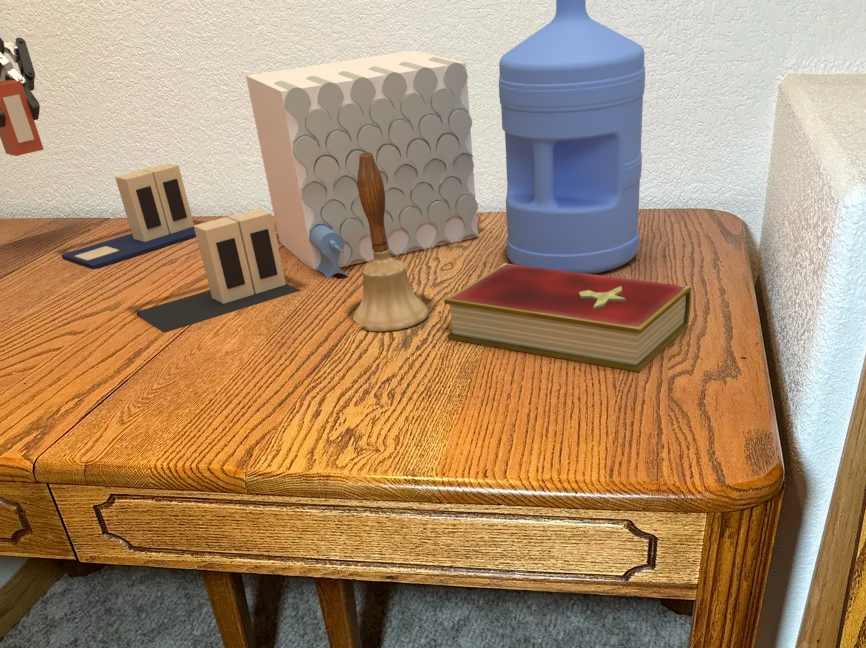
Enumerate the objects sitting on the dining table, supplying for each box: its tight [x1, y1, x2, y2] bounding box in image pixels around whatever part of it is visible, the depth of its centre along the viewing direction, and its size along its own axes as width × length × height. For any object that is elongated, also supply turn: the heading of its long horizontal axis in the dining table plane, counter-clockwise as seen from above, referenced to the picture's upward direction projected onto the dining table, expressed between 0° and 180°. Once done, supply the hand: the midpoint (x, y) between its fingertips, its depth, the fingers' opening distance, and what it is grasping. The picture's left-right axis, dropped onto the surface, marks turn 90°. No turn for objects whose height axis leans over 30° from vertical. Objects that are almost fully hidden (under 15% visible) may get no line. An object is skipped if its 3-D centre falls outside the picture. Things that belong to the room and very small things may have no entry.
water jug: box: [498, 0, 646, 275], centre depth 100 cm, size 16×16×28 cm
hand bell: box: [352, 153, 430, 333], centre depth 93 cm, size 8×8×16 cm
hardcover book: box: [443, 262, 692, 373], centre depth 90 cm, size 12×21×4 cm, turn 58°
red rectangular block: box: [0, 80, 45, 157], centre depth 120 cm, size 4×3×8 cm
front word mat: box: [136, 208, 301, 334], centre depth 102 cm, size 17×9×8 cm, turn 128°
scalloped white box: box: [245, 49, 480, 279], centre depth 111 cm, size 22×24×20 cm
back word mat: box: [61, 162, 197, 270], centre depth 124 cm, size 18×9×8 cm, turn 137°
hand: (19, 118), depth 119 cm, fingers closed on red rectangular block, 4 cm apart
